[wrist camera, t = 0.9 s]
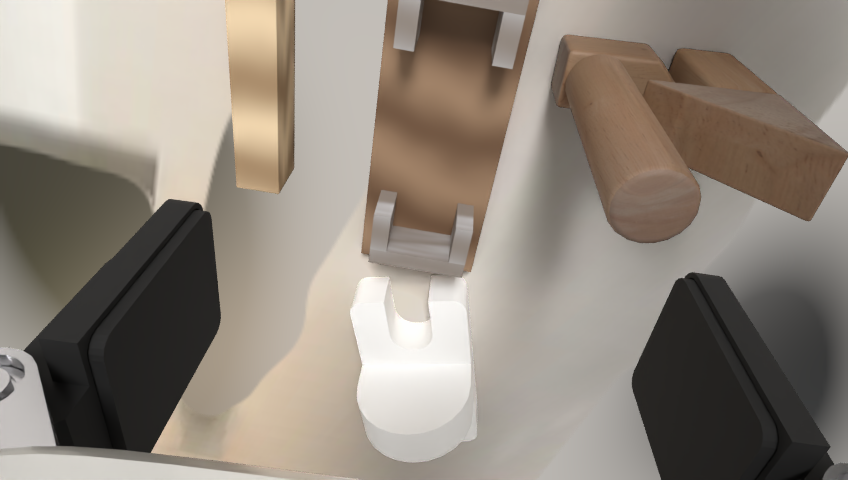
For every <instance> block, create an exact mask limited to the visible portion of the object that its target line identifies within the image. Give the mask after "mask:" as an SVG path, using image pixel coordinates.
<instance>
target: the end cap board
mask: <svg viewBox="0 0 848 480" xmlns="http://www.w3.org/2000/svg"><path fill="white" fill-rule="evenodd" d="M538 4H539V0H388V5H387V14H386V23H385V33H384V42H383V52H382V61H381V71H380V81H379V90H378V100H377V109H376V119H375V128H374V137H373V147H372V156H371V166H370V175H369V185H368V194H367V204H366V213H365V223H364V232H363V242H362V251H361V253H364V254H369V262H372V263H378V264H383V265H389V266H395V267H401V268H407V269H412V270H418V271H424V272H430V273H436V274H441V275H447V276H453V277H459V278H462V275H463V271H468V272H471V269H472V265H473V261H474V257H475V253H476V249H477V245H478V241H479V237H480V233H481V229H482V225H483V221H484V218H485V214H486V210H487V206H488V202H489V198H490V194H491V190H492V186H493V182H494V178H495V174H496V170H497V166H498V162H499V158H500V154H501V150H502V146H503V142H504V138H505V134H506V130H507V127H508V123H509V119H510V115H511V111H512V107H513V103H514V99H515V95H516V91H517V87H518V83H519V79H520V75H521V71H522V67H523V63H524V59H525V55H526V51H527V47H528V43H529V39H530V35H531V32H532V28H533V24H534V20H535V16H536V12H537V8H538Z"/></svg>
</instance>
